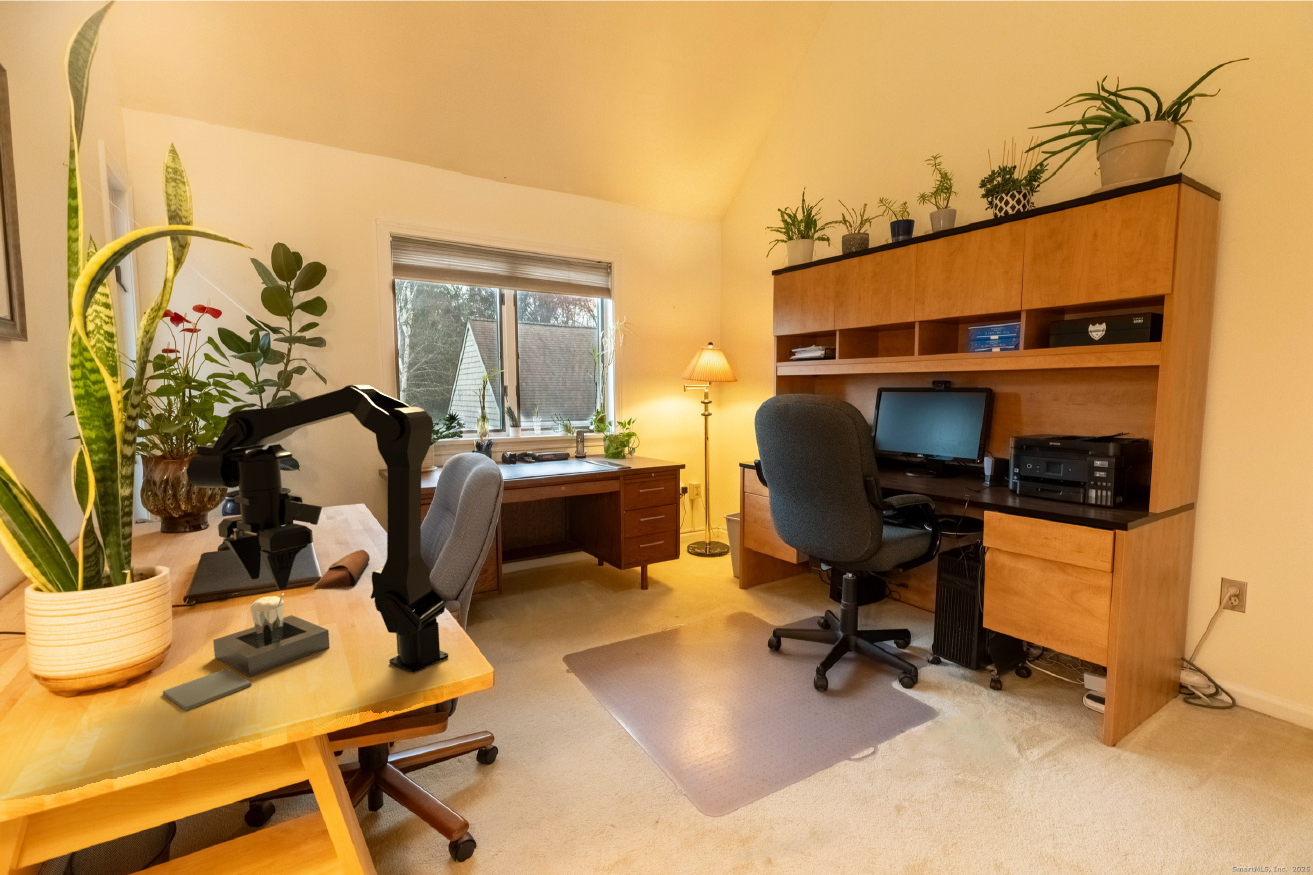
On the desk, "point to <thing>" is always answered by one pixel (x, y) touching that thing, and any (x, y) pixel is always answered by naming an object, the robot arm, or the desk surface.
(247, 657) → the collar
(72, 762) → the desk surface
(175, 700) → the pad
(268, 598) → the milkshake
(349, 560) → the sunglasses case
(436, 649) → the robot arm
